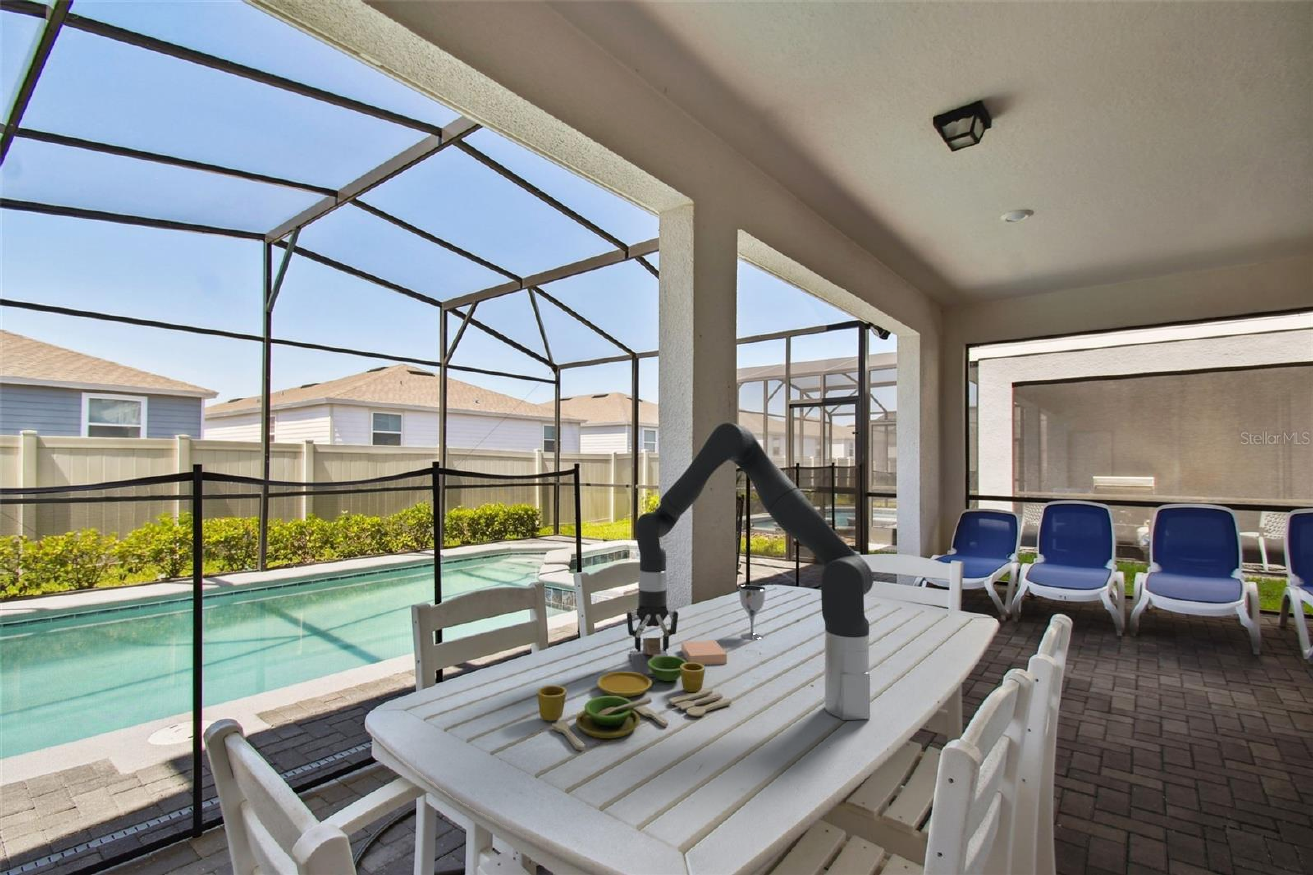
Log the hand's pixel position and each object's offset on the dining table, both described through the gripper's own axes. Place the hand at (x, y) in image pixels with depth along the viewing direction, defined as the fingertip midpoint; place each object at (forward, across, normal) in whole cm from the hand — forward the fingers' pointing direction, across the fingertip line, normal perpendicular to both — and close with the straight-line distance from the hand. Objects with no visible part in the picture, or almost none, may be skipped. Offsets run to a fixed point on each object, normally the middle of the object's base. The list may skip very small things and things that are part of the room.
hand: (651, 650), depth 156 cm
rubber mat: (+4, 0, 0) cm, 4 cm away
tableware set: (+3, -8, -25) cm, 26 cm away
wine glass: (+4, +34, +22) cm, 41 cm away
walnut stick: (+1, 0, 0) cm, 1 cm away
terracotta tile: (+3, +15, -2) cm, 15 cm away
